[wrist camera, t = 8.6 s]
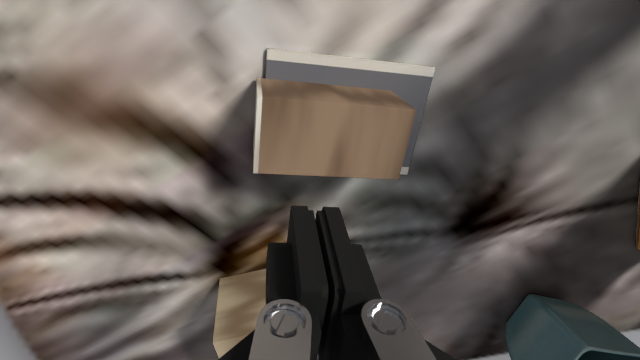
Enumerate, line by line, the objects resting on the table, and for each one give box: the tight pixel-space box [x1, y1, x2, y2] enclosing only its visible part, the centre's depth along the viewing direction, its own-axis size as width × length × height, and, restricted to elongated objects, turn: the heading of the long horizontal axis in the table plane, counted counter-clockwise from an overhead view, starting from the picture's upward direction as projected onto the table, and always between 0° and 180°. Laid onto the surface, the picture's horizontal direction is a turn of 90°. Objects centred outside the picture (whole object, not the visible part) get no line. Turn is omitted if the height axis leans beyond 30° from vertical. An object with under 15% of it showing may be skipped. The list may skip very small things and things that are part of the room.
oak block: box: [213, 269, 266, 358], centre depth 32 cm, size 5×5×7 cm
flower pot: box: [506, 294, 640, 360], centre depth 40 cm, size 9×9×9 cm
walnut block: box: [253, 78, 416, 179], centre depth 25 cm, size 5×5×10 cm
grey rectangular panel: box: [265, 48, 435, 175], centre depth 28 cm, size 12×9×1 cm
